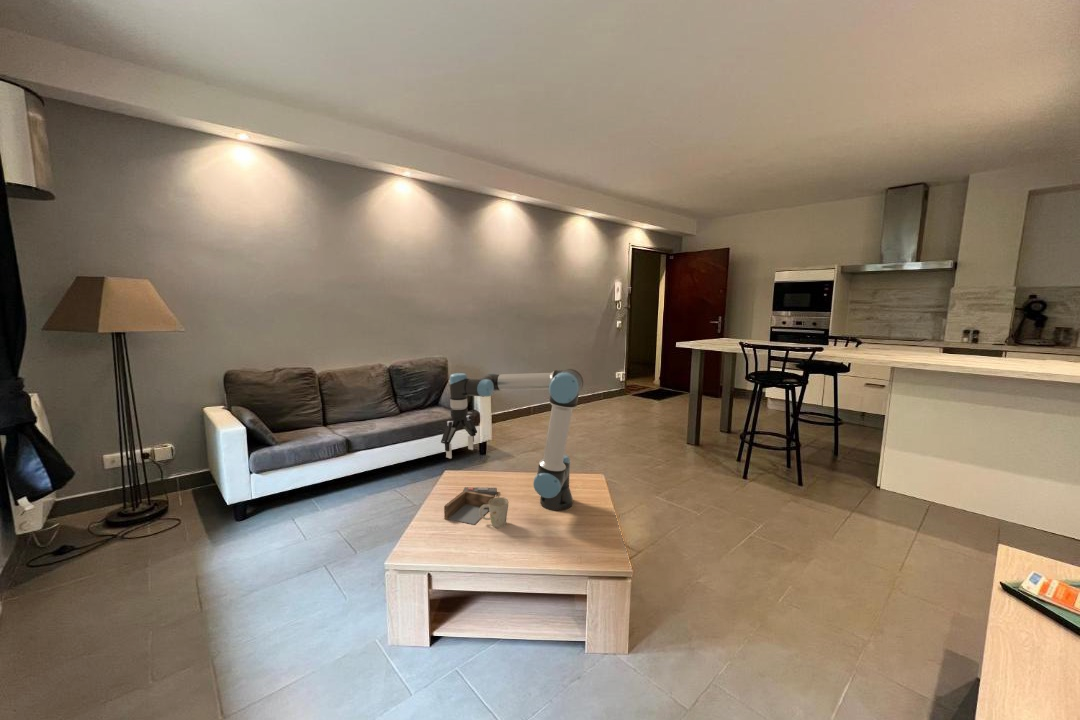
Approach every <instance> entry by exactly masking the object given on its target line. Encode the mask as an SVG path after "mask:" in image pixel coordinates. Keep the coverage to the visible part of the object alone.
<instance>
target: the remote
mask: <svg viewBox="0 0 1080 720" xmlns="http://www.w3.org/2000/svg"><path fill="white" fill-rule="evenodd" d="M463 491H471V492H476V493H482V494H487V495H492V496H497V494H498V487H489V486H488V487H486V486H485V487H483V486H482V487H480V486H479V487H476V486H474V487H471V486H465V487H463V490H462V492H463Z"/></svg>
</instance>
